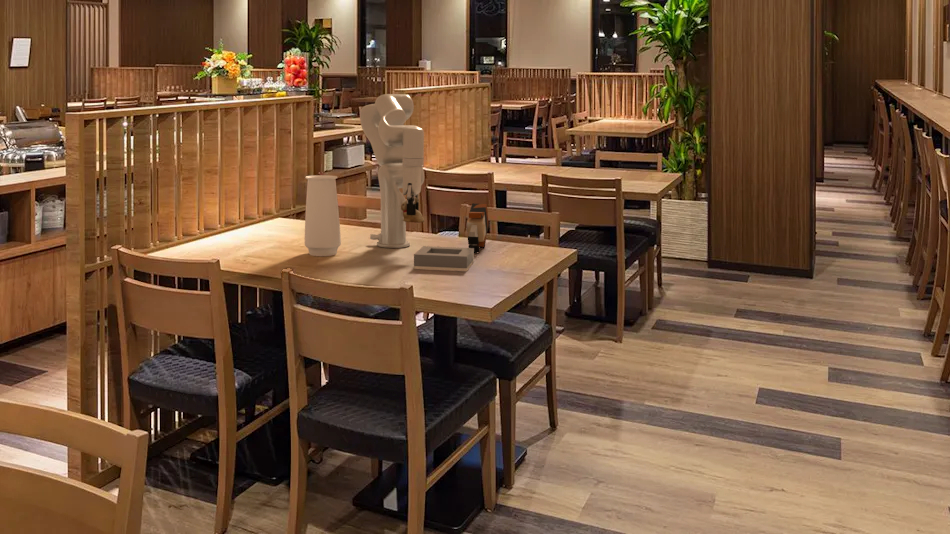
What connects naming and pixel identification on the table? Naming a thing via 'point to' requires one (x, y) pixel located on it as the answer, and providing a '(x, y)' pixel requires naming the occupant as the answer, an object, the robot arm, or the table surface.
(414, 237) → the table surface
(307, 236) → the vase
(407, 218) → the chocolate bunny
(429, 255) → the well
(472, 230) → the toy
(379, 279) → the table surface
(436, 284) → the table surface
